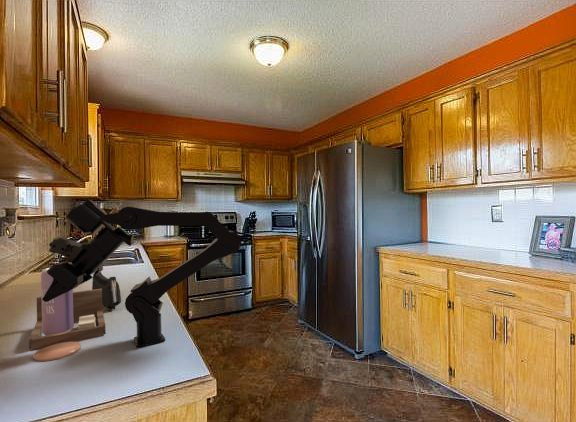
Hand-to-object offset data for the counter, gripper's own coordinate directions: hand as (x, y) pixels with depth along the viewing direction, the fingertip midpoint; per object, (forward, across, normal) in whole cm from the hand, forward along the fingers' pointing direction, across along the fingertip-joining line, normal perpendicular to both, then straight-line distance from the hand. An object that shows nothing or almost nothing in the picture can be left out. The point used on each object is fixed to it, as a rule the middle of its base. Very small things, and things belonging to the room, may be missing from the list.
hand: (50, 297), depth 73 cm
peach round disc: (+8, 0, +10) cm, 13 cm away
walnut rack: (+10, -14, +8) cm, 19 cm away
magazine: (+10, -44, +9) cm, 46 cm away
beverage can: (+5, 0, +7) cm, 9 cm away
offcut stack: (+7, -14, +12) cm, 19 cm away
